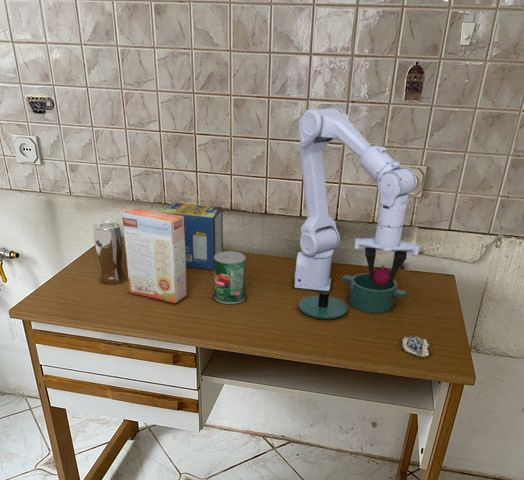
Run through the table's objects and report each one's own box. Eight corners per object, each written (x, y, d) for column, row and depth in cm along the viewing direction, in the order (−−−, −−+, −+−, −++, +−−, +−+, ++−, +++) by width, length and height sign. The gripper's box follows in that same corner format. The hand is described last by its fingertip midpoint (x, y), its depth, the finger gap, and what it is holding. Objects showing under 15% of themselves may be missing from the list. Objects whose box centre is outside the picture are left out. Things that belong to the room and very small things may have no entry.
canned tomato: (250, 295, 135) (251, 255, 129) (235, 306, 129) (235, 265, 123) (224, 288, 138) (224, 249, 132) (208, 299, 132) (207, 258, 126)
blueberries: (423, 338, 119) (425, 330, 118) (439, 356, 112) (441, 348, 111) (395, 339, 118) (397, 332, 117) (409, 357, 111) (411, 350, 110)
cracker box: (188, 296, 133) (185, 215, 122) (175, 304, 128) (171, 221, 118) (143, 284, 138) (136, 206, 127) (128, 293, 133) (120, 212, 122)
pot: (392, 320, 126) (396, 298, 123) (331, 301, 134) (334, 280, 131) (409, 304, 134) (414, 283, 131) (351, 287, 142) (354, 267, 139)
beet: (370, 287, 124) (373, 268, 122) (370, 280, 128) (373, 261, 125) (389, 289, 124) (392, 270, 121) (388, 282, 127) (392, 263, 125)
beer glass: (94, 281, 138) (86, 226, 131) (110, 272, 144) (103, 219, 136) (116, 286, 136) (109, 231, 129) (131, 277, 142) (126, 223, 134)
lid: (332, 325, 122) (334, 308, 120) (288, 311, 128) (290, 293, 126) (355, 308, 131) (357, 291, 128) (313, 295, 137) (315, 278, 134)
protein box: (175, 252, 160) (172, 201, 152) (223, 257, 157) (223, 206, 149) (162, 264, 151) (159, 211, 143) (213, 270, 148) (213, 216, 141)
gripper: (357, 226, 116) (350, 282, 123) (424, 232, 114) (412, 289, 121) (358, 217, 122) (350, 271, 129) (421, 223, 120) (410, 277, 127)
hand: (380, 279), depth 125 cm, fingers closed on beet, 4 cm apart
